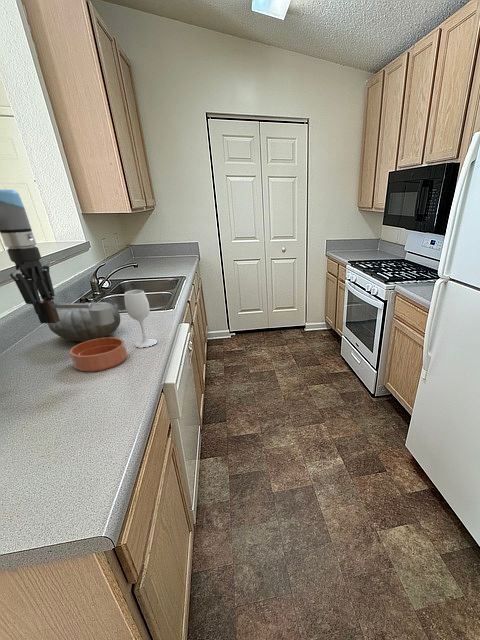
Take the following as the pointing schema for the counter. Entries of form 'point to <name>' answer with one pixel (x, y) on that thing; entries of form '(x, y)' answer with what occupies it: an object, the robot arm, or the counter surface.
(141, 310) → the wineglass
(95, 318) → the ladle
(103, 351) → the bowl
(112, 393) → the counter surface
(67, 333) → the gourd
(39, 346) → the counter surface
